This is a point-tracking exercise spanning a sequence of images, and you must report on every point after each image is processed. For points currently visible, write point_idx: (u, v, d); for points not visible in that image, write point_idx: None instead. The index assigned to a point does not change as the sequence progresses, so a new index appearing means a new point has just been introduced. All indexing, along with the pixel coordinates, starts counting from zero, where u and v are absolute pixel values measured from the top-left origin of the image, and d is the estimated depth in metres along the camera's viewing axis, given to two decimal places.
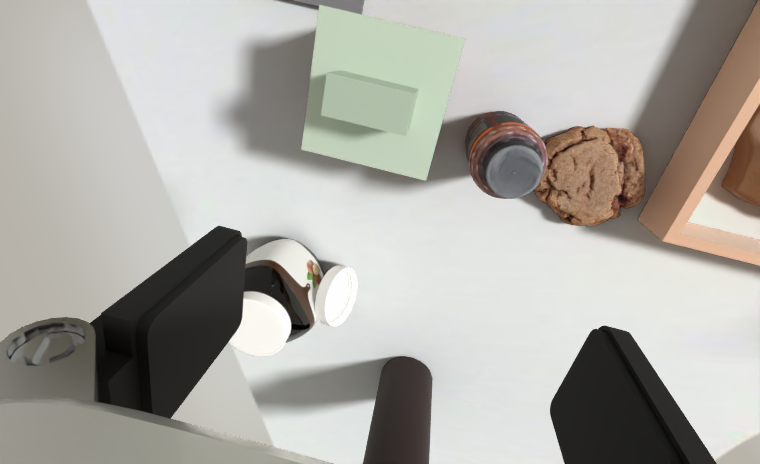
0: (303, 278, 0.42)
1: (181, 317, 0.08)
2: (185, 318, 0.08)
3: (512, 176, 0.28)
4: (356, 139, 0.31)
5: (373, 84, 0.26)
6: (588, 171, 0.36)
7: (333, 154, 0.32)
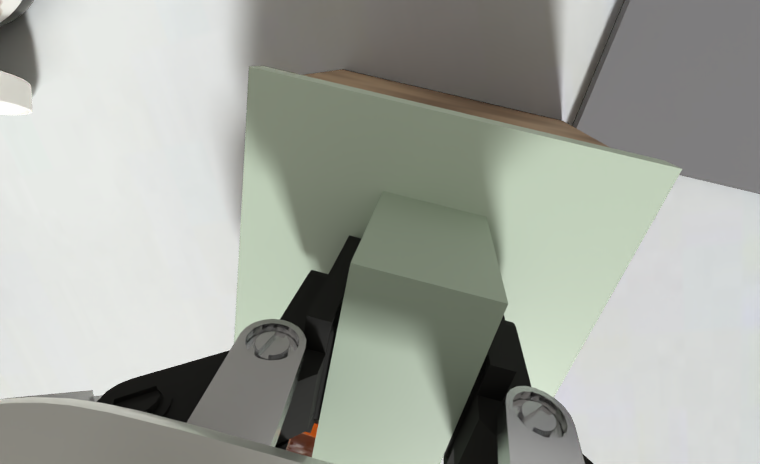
0: None
1: None
2: None
3: None
4: (304, 240, 0.11)
5: (452, 425, 0.08)
6: None
7: (252, 173, 0.11)
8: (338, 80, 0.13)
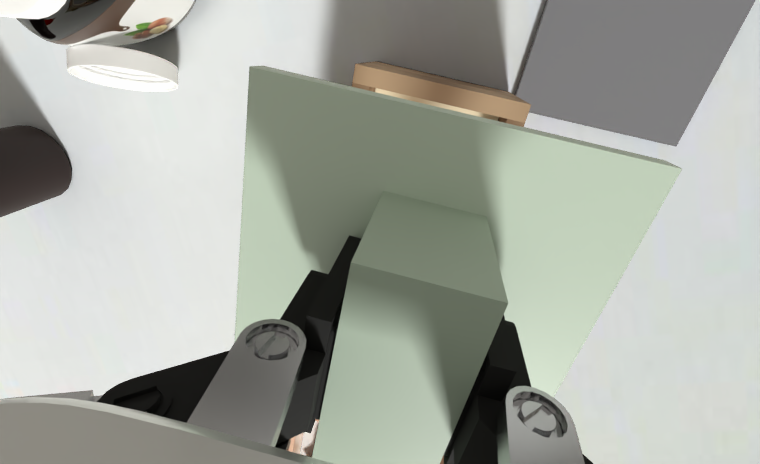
0: (134, 20, 0.25)
1: None
2: None
3: None
4: (304, 240, 0.11)
5: (453, 424, 0.08)
6: None
7: (252, 173, 0.11)
8: (380, 66, 0.25)
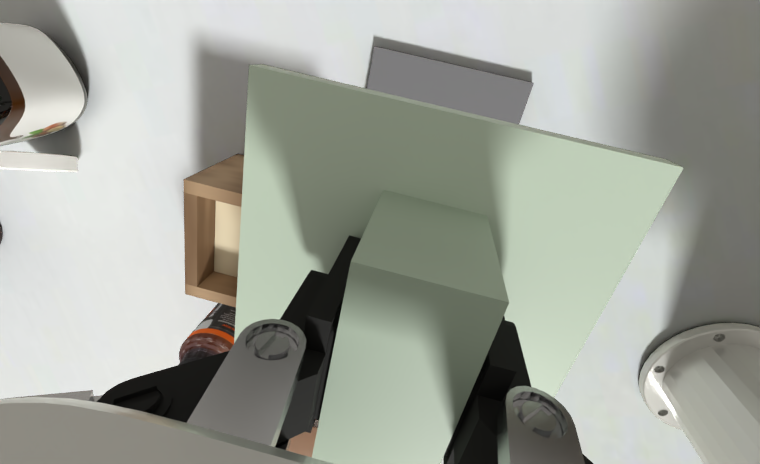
0: (25, 131, 0.31)
1: None
2: None
3: None
4: (304, 239, 0.11)
5: (453, 424, 0.08)
6: None
7: (252, 172, 0.11)
8: (221, 170, 0.31)
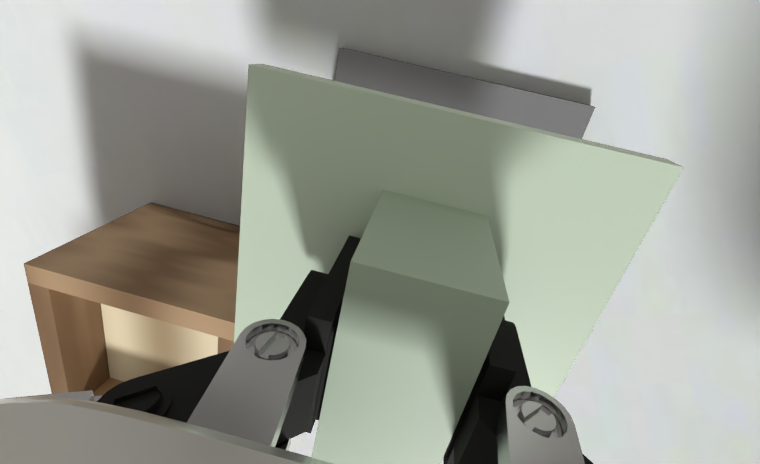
0: None
1: None
2: None
3: None
4: (303, 239, 0.11)
5: (453, 425, 0.08)
6: None
7: (251, 172, 0.11)
8: (105, 238, 0.20)
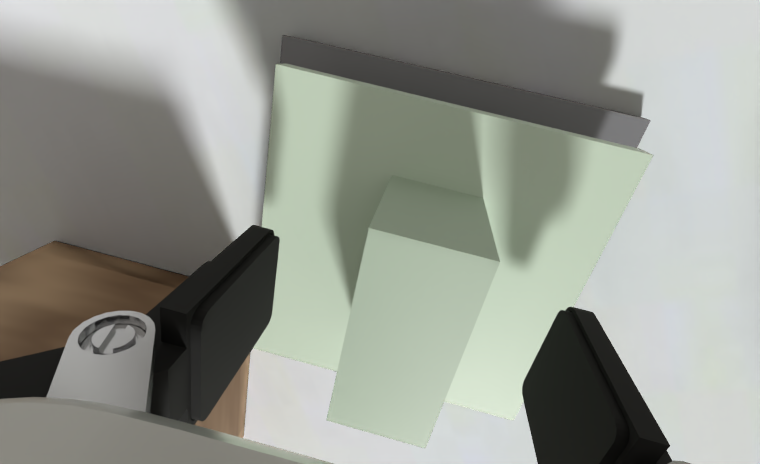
0: None
1: (227, 311, 0.08)
2: (229, 312, 0.08)
3: None
4: (320, 220, 0.13)
5: (453, 372, 0.09)
6: None
7: (275, 159, 0.12)
8: None
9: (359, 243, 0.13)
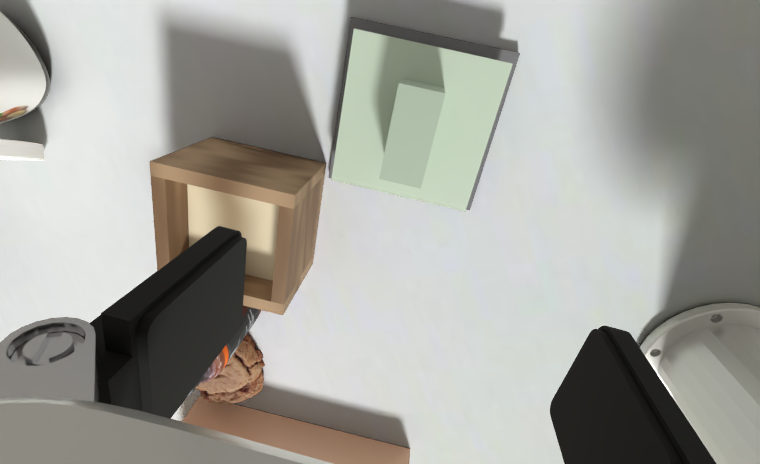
0: None
1: (181, 317, 0.08)
2: (185, 318, 0.08)
3: None
4: (370, 103, 0.28)
5: (430, 146, 0.24)
6: (221, 374, 0.42)
7: (350, 73, 0.27)
8: (192, 152, 0.29)
9: (388, 114, 0.28)
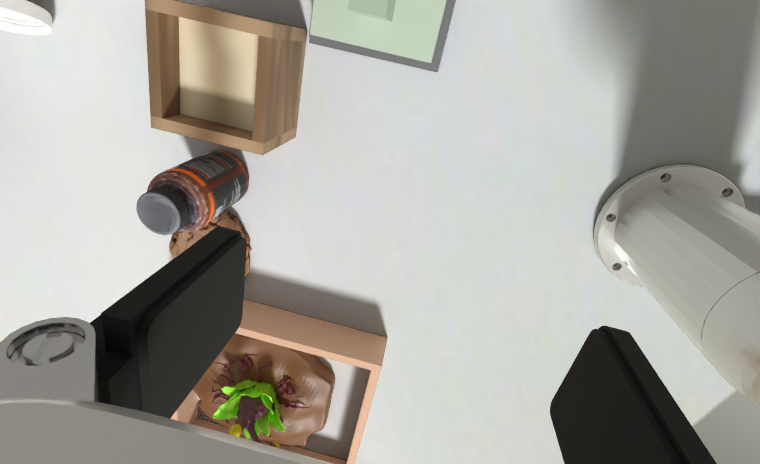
0: None
1: (181, 317, 0.08)
2: (185, 318, 0.08)
3: (154, 213, 0.33)
4: None
5: None
6: None
7: None
8: None
9: None
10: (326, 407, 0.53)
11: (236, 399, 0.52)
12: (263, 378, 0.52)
